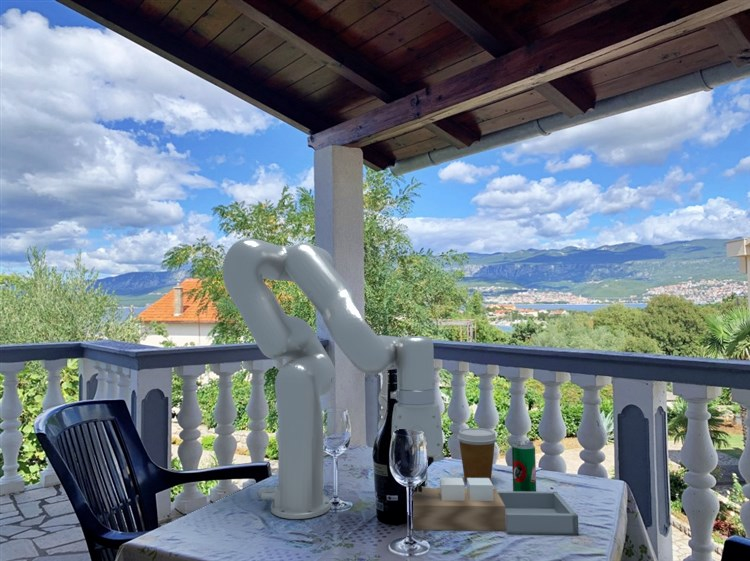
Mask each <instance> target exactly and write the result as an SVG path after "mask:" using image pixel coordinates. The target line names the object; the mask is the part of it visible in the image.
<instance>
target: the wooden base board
mask: <svg viewBox="0 0 750 561" xmlns="http://www.w3.org/2000/svg"><path fill="white" fill-rule="evenodd" d="M415 530H416V531H417V530H419V531H420V530H423V531H427V530H428V531H429V530H430V531H480V532H481V531H483V532H484V531H492V532H493V531H495V532H496V531H497V532H500V531H501V532H506V516H505V505H504V503H503V501H502V499H501V498H500V496H499V494H498V492H497V488H493V501H470V499H469V497H468V494H467V487H465V501H442V499H441V495H440V487H422V492H419V491H417V492H414V495H413V531H415Z"/></svg>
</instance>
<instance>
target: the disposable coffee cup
mask: <svg viewBox="0 0 750 561" xmlns="http://www.w3.org/2000/svg"><path fill="white" fill-rule="evenodd" d="M457 439H458V441H459V451H460V455H461V456H460V457H461V462H462V463H461V464H462V472H463V477H464V479H463V480H464V483H466V482H467V478H489V479H490V481H491V482H492V474H493V465H494V464H493V463H494V454H495V453H494V452H495V443H496V442H497V436H496V432H495V431H494V430H492V429H488V428H481V427H469V428H462V429H459V430H458V435H457Z"/></svg>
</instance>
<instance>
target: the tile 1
mask: <svg viewBox="0 0 750 561" xmlns="http://www.w3.org/2000/svg"><path fill="white" fill-rule="evenodd" d="M465 486H466V485H465V481H464V479H463V478H462V477H439V488H440V495H441V499H442V501H465V488H466V487H465Z"/></svg>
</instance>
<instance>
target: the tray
mask: <svg viewBox="0 0 750 561" xmlns="http://www.w3.org/2000/svg"><path fill="white" fill-rule="evenodd" d="M497 492H498V494H499V496H500V498H501V499H502V501H503V503H504V505H505V516H506V531H505V533H506V534H507V535H531V536H532V535H538V536H539V535H540V536H541V535H542V536H543V535H545V536H546V535H547V536H549V535H551V536H552V535H553V536H579V533H580V532H579V515H578V514H577V513H576V512H575V510H574V509H573V508H572V507H571V506H570V505H569V503H568V502H567V501H566V500H565V499H564V498H563V497H562V496H561V494H560V493H558V491H536V492H529V491H513V490H511V491H509V490H507V491H505V490H498V491H497Z"/></svg>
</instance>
